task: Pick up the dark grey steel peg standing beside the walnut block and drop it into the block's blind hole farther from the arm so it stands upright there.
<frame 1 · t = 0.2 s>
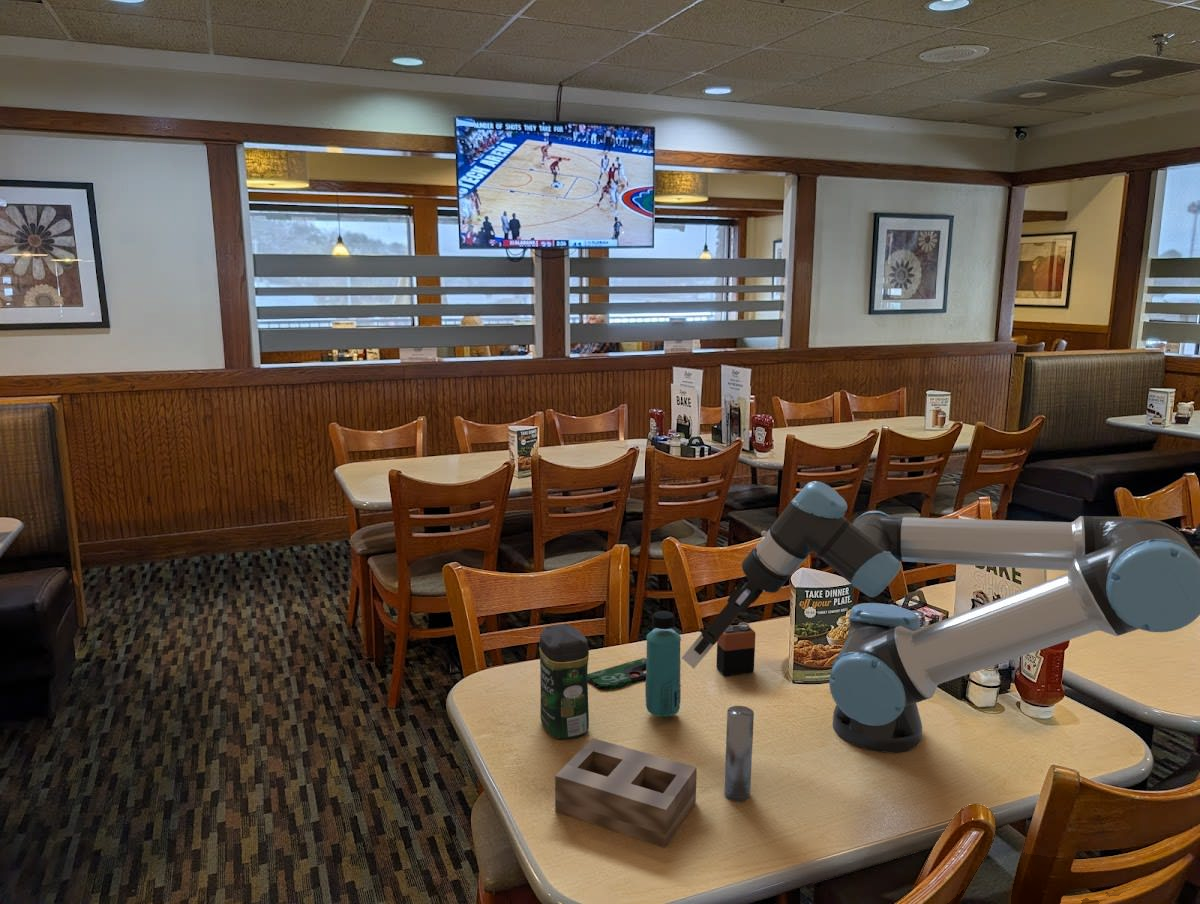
hand: (701, 647, 148), 16 cm above the table, tool tilted 35°, fingers open, 13 cm apart
battery: (734, 671, 174), on the table
peg block: (626, 806, 129), on the table
beverage bottle: (662, 716, 156), on the table
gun: (629, 680, 171), on the table
coffee jar: (564, 728, 152), on the table
steel peg: (737, 794, 132), on the table
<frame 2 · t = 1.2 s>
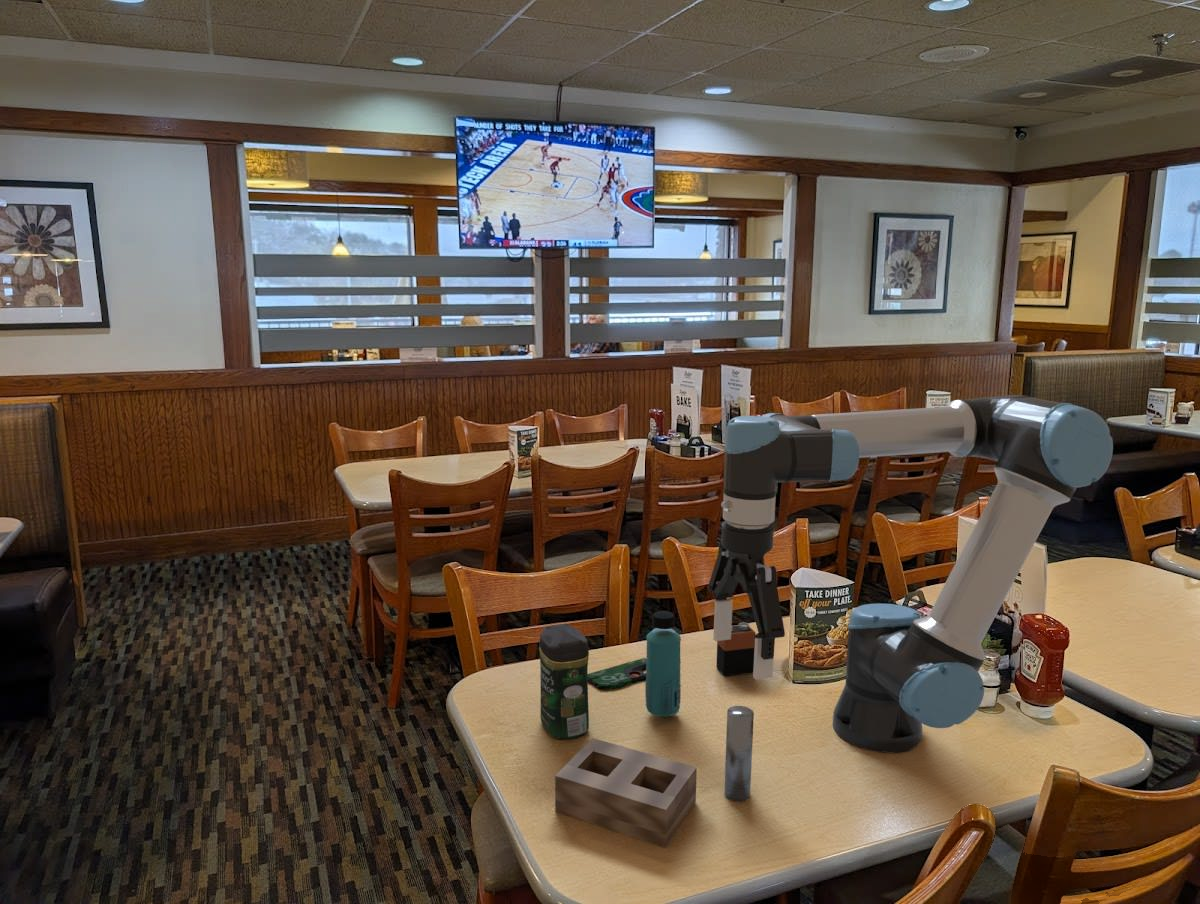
hand: (741, 657, 128), 23 cm above the table, tool pointing down, fingers open, 13 cm apart
nothing on the table moved.
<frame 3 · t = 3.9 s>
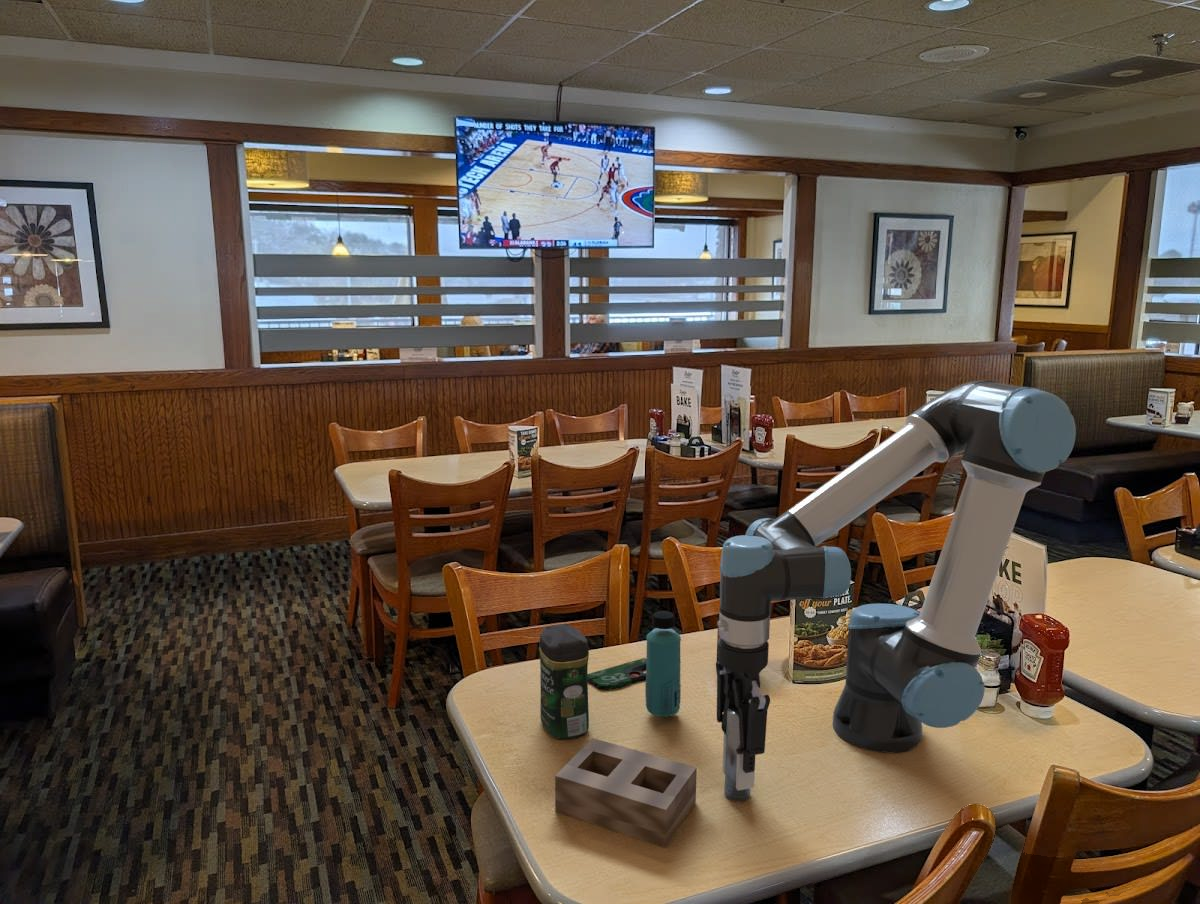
hand: (737, 779, 132), 3 cm above the table, tool pointing down, fingers closed on steel peg, 4 cm apart
steel peg: (737, 794, 132), on the table, touching gripper
everything else where it was.
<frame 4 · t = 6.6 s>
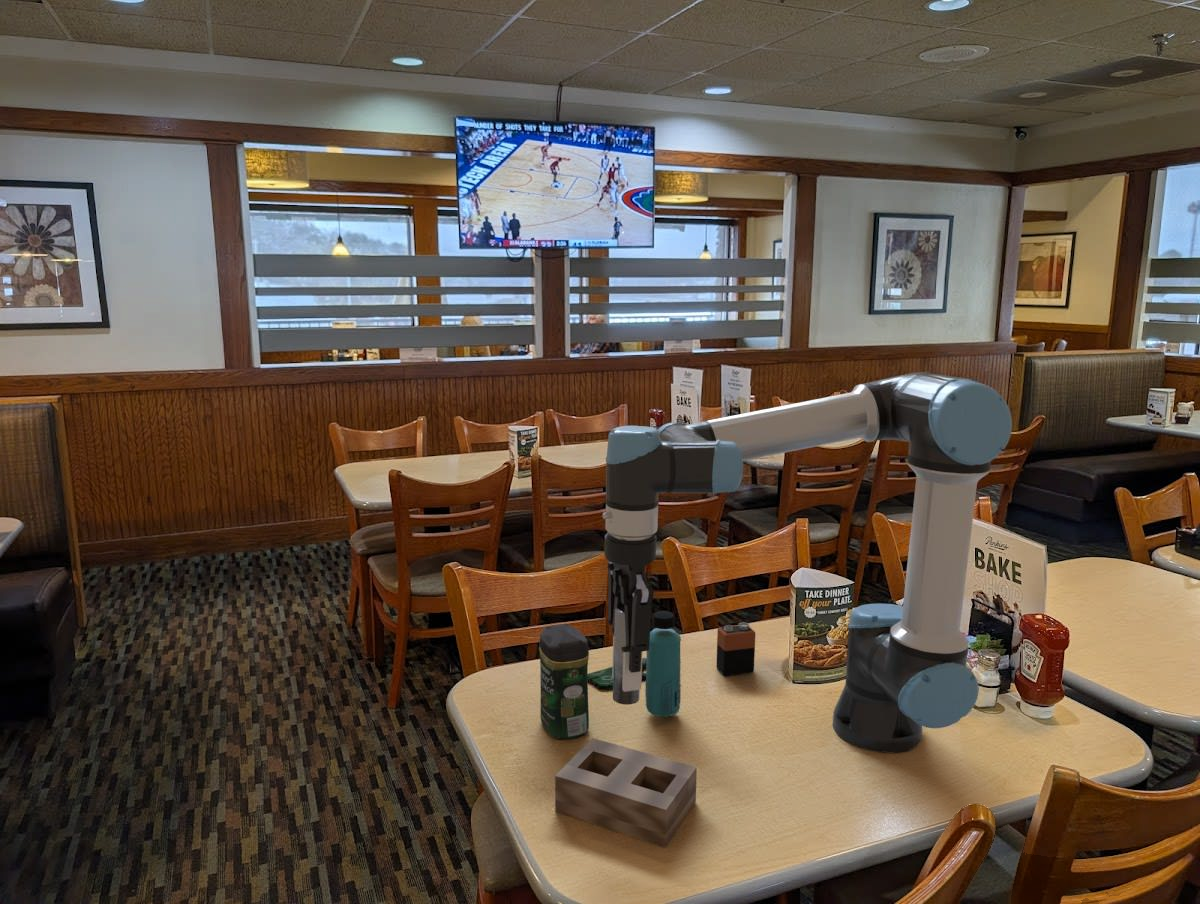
hand: (626, 682, 127), 19 cm above the table, tool pointing down, fingers closed on steel peg, 4 cm apart
steel peg: (626, 698, 128), point 17 cm above the table, touching gripper
everything else where it was.
when the fingers open (8 cm above the table, at t = 9.3 s): steel peg drops 2 cm, resting on peg block.
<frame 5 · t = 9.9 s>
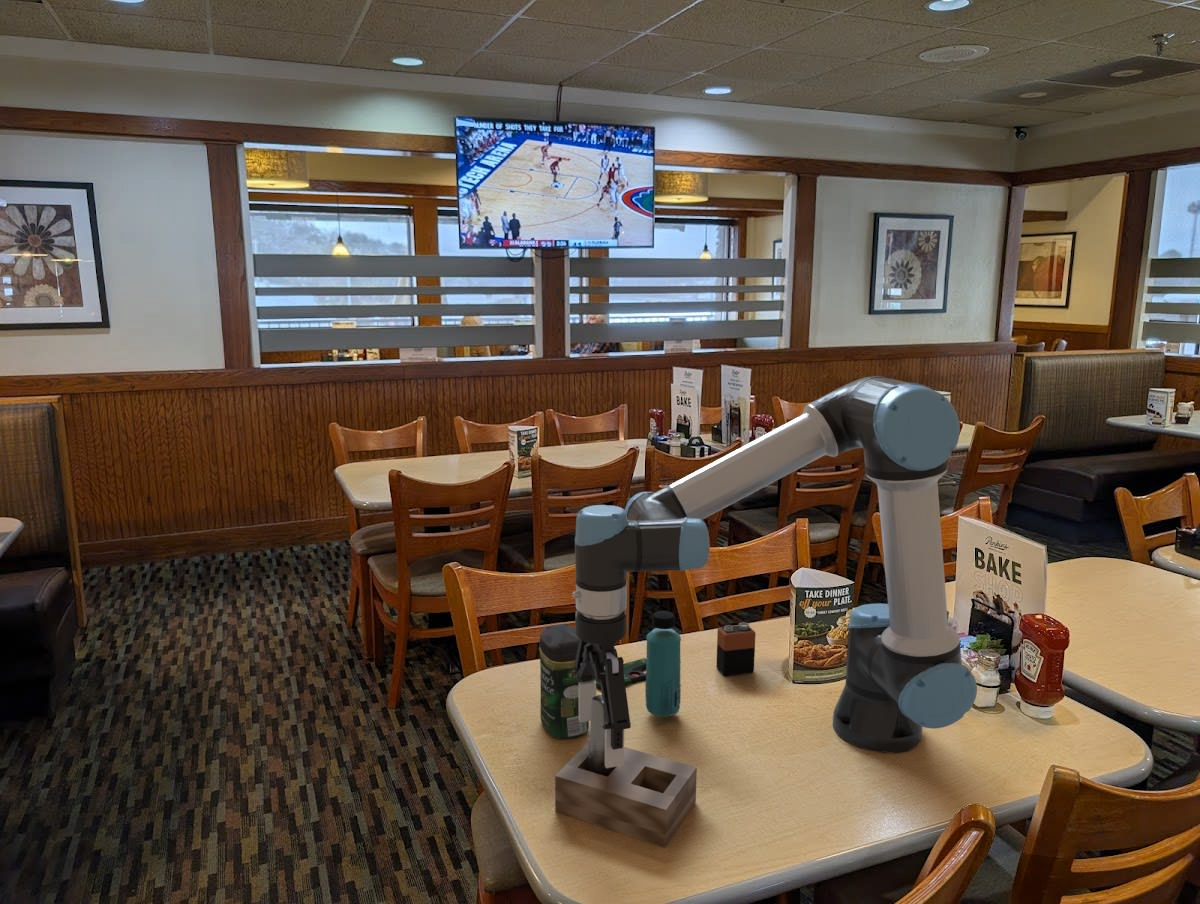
hand: (600, 741, 129), 10 cm above the table, tool pointing down, fingers open, 13 cm apart
steel peg: (599, 785, 130), point 2 cm above the table, touching peg block
everything else where it was.
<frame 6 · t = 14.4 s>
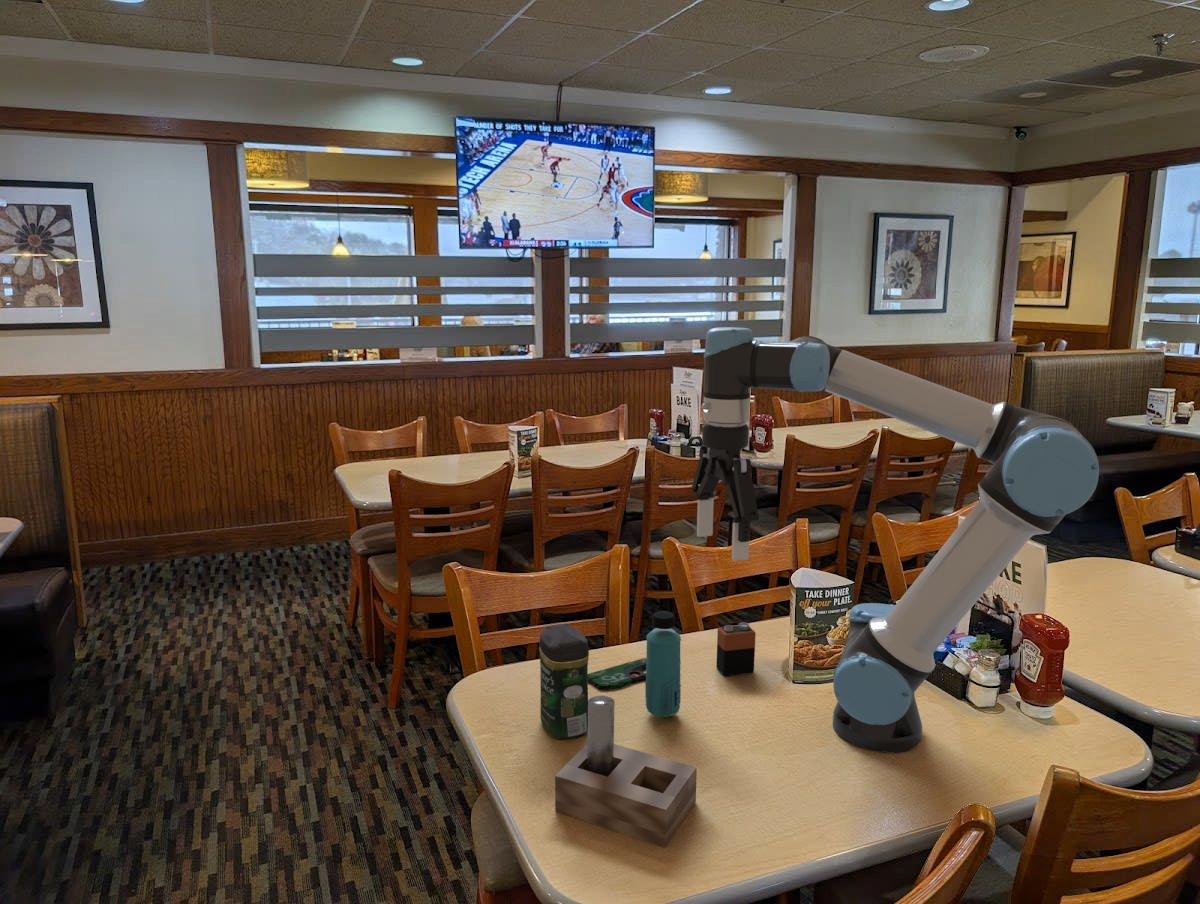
hand: (721, 547, 142), 35 cm above the table, tool pointing down, fingers open, 13 cm apart
nothing on the table moved.
at the end: steel peg 0.0 cm from the target spot on the peg block, point 2.2 cm above the peg block's base; steel peg tilted 1°; the gripper is holding nothing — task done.
